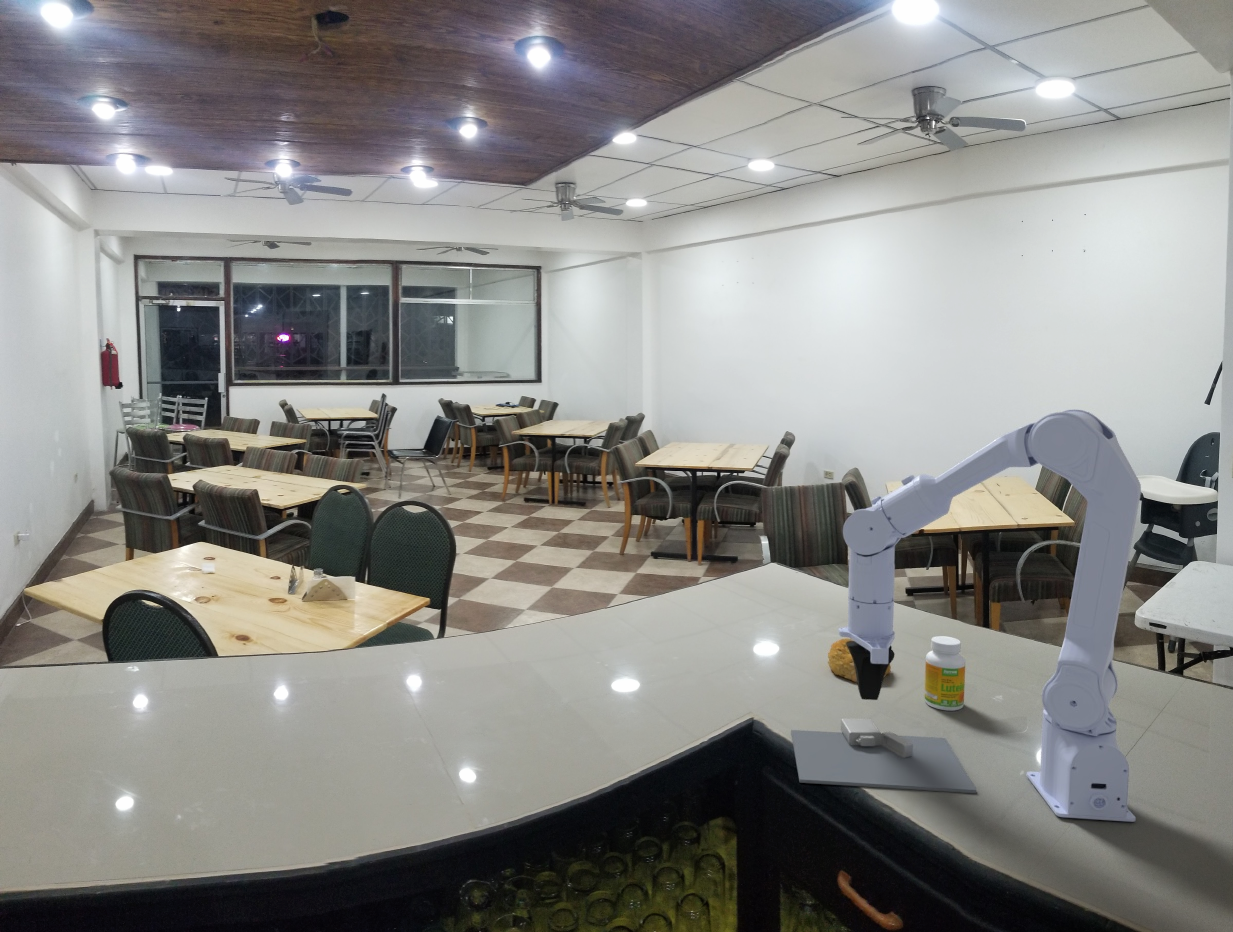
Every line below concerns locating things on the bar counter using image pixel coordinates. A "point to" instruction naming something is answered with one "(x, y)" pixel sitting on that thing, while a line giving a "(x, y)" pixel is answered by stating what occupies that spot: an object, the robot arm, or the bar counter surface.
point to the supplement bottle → (945, 674)
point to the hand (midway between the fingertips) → (868, 697)
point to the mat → (878, 763)
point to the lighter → (874, 736)
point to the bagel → (844, 660)
